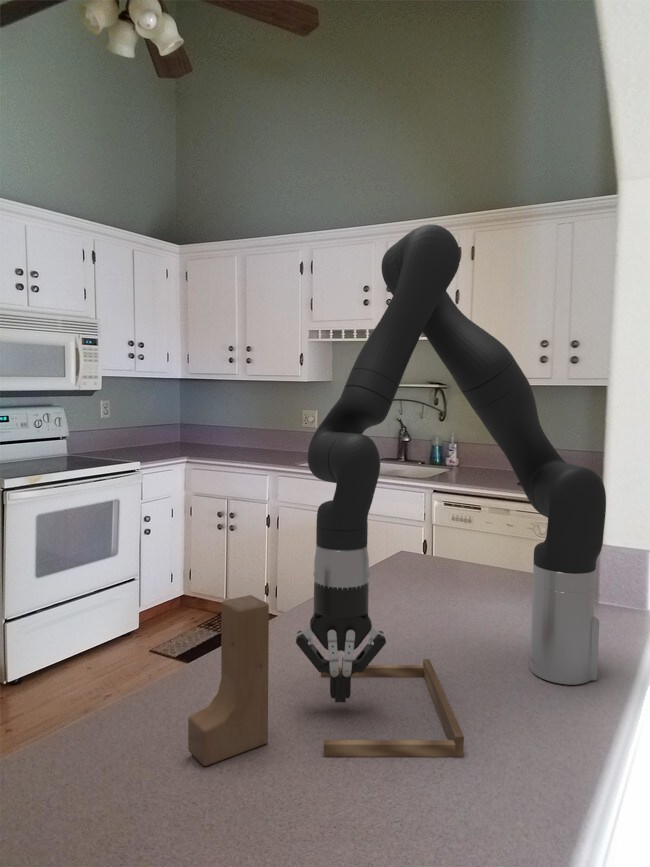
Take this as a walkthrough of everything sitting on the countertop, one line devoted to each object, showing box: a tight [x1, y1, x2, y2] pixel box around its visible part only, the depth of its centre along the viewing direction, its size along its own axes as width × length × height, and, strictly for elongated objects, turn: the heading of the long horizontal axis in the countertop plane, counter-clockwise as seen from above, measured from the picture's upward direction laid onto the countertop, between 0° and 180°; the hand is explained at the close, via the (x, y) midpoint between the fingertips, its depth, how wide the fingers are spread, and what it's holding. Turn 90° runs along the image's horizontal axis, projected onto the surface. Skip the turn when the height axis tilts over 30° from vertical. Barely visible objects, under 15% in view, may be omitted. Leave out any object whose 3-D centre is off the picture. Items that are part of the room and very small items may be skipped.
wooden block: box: [187, 594, 270, 767], centre depth 79 cm, size 9×4×18 cm, turn 127°
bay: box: [320, 658, 465, 758], centre depth 90 cm, size 17×23×2 cm
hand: (339, 699), depth 90 cm, fingers closed
